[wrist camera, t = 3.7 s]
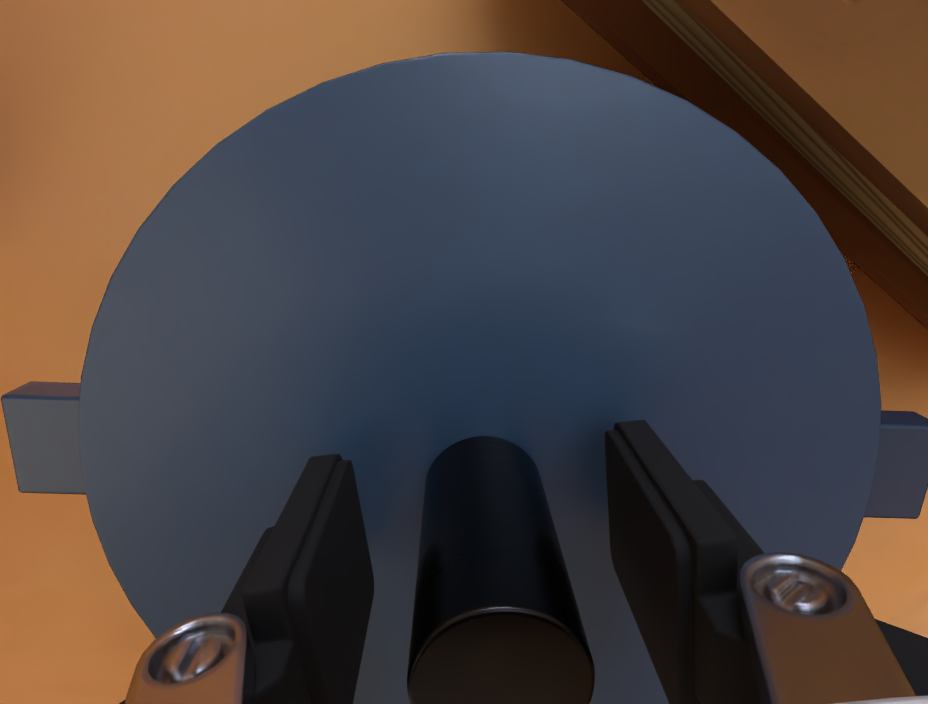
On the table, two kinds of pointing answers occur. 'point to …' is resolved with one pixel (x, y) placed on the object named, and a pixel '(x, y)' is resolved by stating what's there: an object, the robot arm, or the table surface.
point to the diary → (808, 106)
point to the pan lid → (474, 362)
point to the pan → (59, 472)
